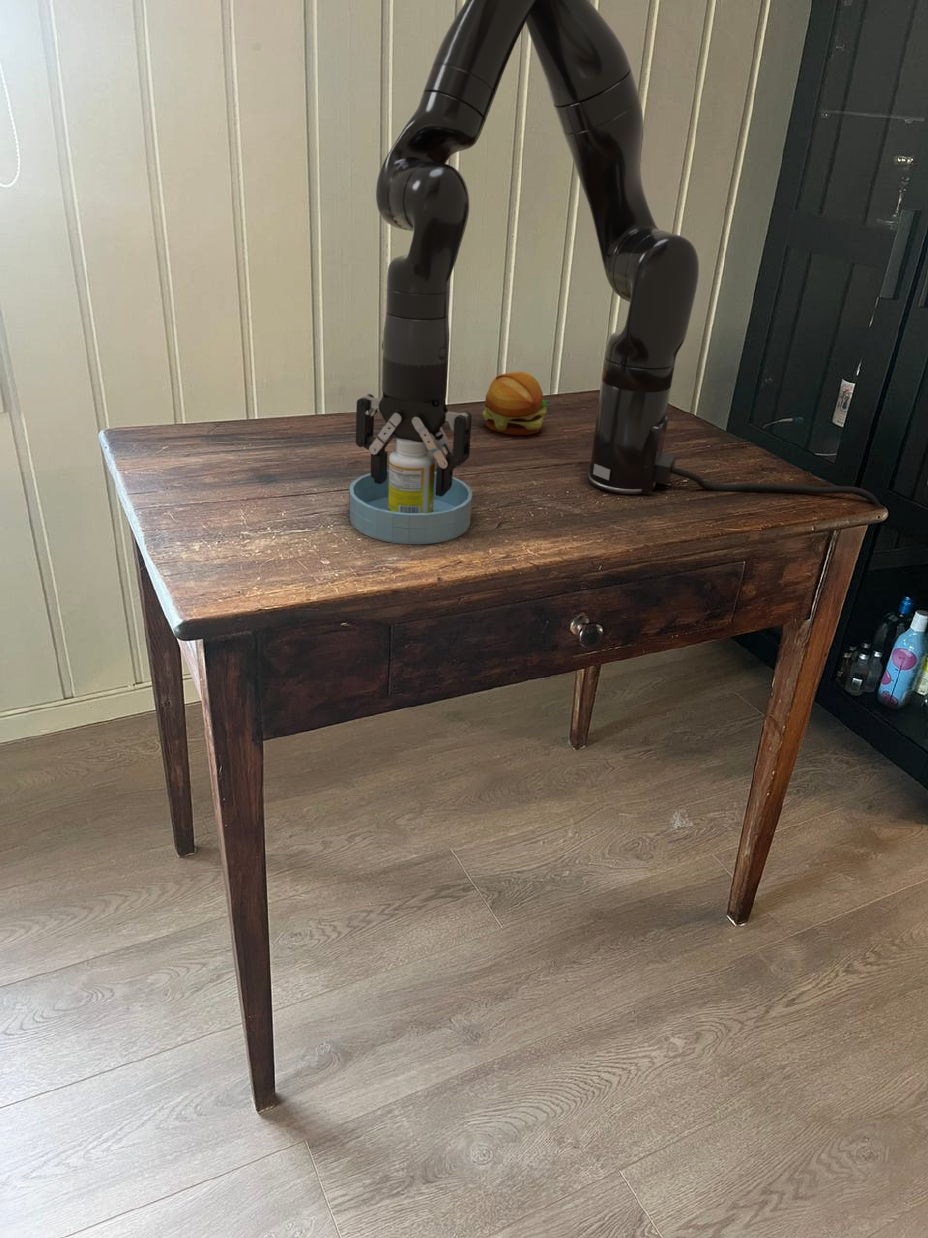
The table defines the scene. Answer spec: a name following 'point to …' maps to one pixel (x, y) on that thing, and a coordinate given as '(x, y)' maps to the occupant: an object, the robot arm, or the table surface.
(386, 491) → the pan
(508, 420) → the cheeseburger
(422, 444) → the supplement bottle
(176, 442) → the table surface
